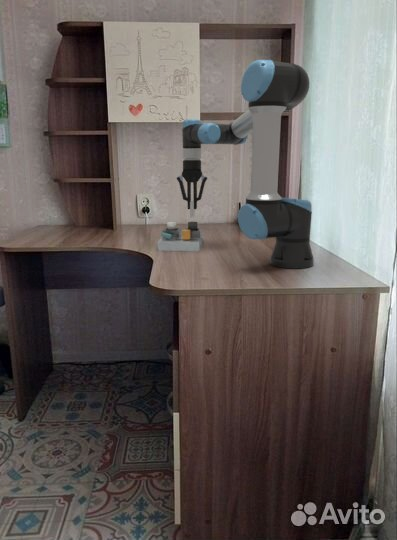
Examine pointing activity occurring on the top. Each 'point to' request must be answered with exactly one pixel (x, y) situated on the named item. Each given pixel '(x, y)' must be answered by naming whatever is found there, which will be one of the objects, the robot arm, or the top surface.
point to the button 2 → (192, 225)
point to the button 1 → (172, 225)
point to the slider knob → (186, 234)
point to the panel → (181, 241)
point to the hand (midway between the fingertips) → (192, 216)
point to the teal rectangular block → (166, 235)
